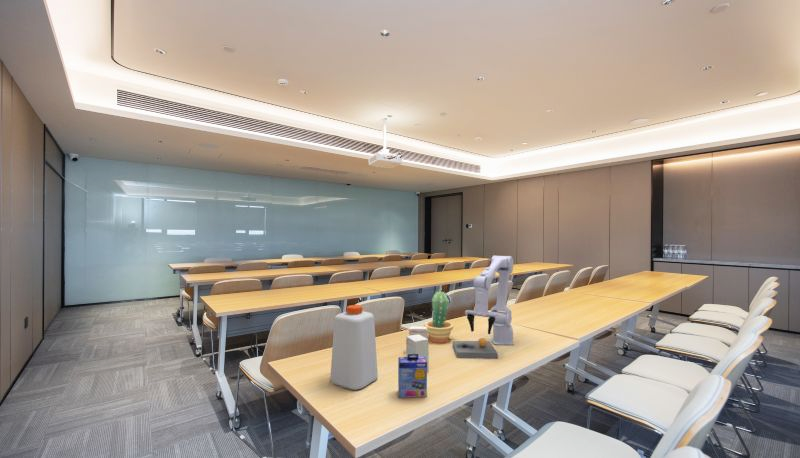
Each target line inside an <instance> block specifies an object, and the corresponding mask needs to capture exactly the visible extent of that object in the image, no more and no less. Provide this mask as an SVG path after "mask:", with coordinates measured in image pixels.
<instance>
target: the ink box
mask: <svg viewBox="0 0 800 458" xmlns="http://www.w3.org/2000/svg"><path fill="white" fill-rule="evenodd" d="M408 331H409V332H408V336H410V335H417V334H419V335H421V336H423V337H425V338H427V339H428V340H429V337H428V336H429V334H428V329H427V327H425V326H412V325H411V326H409V328H408Z"/></svg>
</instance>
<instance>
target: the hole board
mask: <svg viewBox="0 0 800 458" xmlns="http://www.w3.org/2000/svg"><path fill="white" fill-rule="evenodd" d="M486 341H487V345H486V346H485V347H481V346H480V345H479V344H478V340H452V348H453V351H454V353H455V357H456V359H498V357H499V354H498V353H499V352H498V351H497V349H496V348H495V347H494V345H493V344H492V343H491V341H489V340H486Z"/></svg>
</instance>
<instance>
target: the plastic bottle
mask: <svg viewBox="0 0 800 458" xmlns="http://www.w3.org/2000/svg"><path fill="white" fill-rule="evenodd" d="M375 327H376V326H375V316H374V314H373V313H372V312H369V311H364V310H363V306H362V305H360V304H351V305H347V306H346V310H345V311H344V312H341V313H338V314H336V315H335V317H334V321H333V334H332V348H331V349H332V350H331V362H330V363H331V364H330V377H329V378H330V382H331V383H332V385H336V386H337V387H342V388H345V389H347V390H353V391H358V390H361V389H364V388H365V387H367V386H368V385H370V384H371V383H372V382H373V383H374V381H376V380H377V379H378V375H379V373H378V372H379V371H378V358H377V344H376V343H377V342H376V329H375Z"/></svg>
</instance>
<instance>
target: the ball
mask: <svg viewBox="0 0 800 458" xmlns="http://www.w3.org/2000/svg"><path fill="white" fill-rule="evenodd" d="M477 341H478V344H479V345H480V346H481V347H485V346H486V345H487V341H488V340H487V339H486V338H484V337H481V338H479V339H478V340H477Z"/></svg>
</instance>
